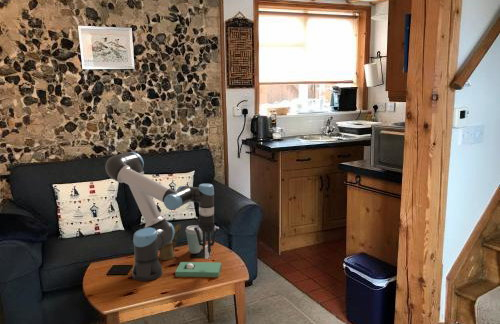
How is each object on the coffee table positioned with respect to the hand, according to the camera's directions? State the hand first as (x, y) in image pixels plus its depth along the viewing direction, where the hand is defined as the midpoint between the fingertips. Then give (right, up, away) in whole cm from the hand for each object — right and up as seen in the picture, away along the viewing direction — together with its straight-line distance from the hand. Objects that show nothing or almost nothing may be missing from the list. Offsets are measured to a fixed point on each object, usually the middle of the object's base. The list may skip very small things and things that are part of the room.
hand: (206, 257), depth 213 cm
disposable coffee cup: (-10, -3, +28) cm, 30 cm away
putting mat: (-4, -8, +1) cm, 9 cm away
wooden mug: (-23, -4, +22) cm, 32 cm away
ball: (-9, -5, +1) cm, 10 cm away
